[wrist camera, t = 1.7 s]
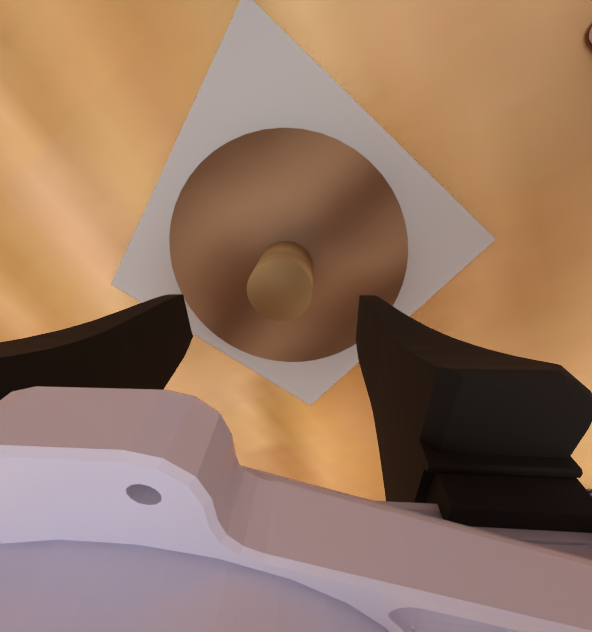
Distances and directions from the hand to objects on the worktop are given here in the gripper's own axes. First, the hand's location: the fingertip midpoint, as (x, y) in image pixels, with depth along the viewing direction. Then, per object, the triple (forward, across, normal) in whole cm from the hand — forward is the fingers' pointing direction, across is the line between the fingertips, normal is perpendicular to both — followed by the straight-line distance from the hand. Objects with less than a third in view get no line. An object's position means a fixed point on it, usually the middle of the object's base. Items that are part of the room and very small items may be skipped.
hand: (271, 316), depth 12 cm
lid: (+7, 0, 0) cm, 7 cm away
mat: (+7, 0, 0) cm, 7 cm away
